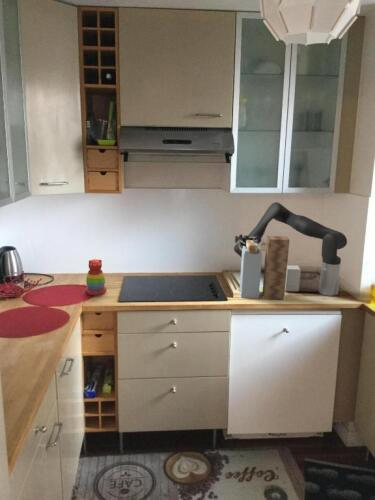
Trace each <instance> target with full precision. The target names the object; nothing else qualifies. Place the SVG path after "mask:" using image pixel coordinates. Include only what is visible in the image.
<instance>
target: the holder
mask: <svg viewBox="0 0 375 500" xmlns="http://www.w3.org/2000/svg"><path fill="white" fill-rule="evenodd" d="M262 260H263V253H262V250H261V248H260V246H258V247H257V254H248V252H247V249H246V247H245V246H243V249H242V258H241V261H240V262H241V264H240V275H239V276H240V277H239V293H240V292H241V294H240V297H241V298H243V299H244V298H245V299H259V298H260V287H261V286H260V285H261V275H262V274H261V273H262V263H263V262H262Z"/></svg>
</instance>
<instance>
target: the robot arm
mask: <svg viewBox="0 0 375 500" xmlns="http://www.w3.org/2000/svg"><path fill="white" fill-rule="evenodd" d="M272 220H275V221H277V222H279V223H283V224H286V225H288V226H289V227H291V228H292V229H293V230H295V231H296V232H298V233H300V234H302V235H305V236H306V237H310V238H314V239H320V240H322V241H321V242H322V243H321V257H322V258H321V260H322V261H321V269H320V275H319V276H320V277H319V287H318V293H319V294H320V295H324V296H329V297H331V296H332V297H333V296H337V295H339V289H340V288H339V287H340V280H341V278H340V272H341V271H340V269H341V265H342V264H341V262H342V261H341V260H342V258H341V257H340V256H338V250H341V249H344V248H345V247H346V246H347V244H348V239H347V236H346V235H345V234H344V233H343V232H340V231H338V230H335V229H332V228H329V227H327V226H325V225H323V224H321V223H319V222H317V221H315V220H313V219H311V218H310V217H307V216H306V215H301V214H295V213H294V212H292V211H290V210H289V209H288V208H286V207H285V206H284V205H283V204H281V203H280V202H277V201H275V202H272V203H271V204H270V205H269V207H267V209H266V211H265V212H264V214H263V215H262V216H261V218H260V220H259V221H258V223H257V224H256V226H255V227H253V229H252V230H251V232H250V233H249V234H248V235H243V233H242V234H241V233H240V235H235V237H234V243H235V244H234V247H233V251H234V252H235V254H236V255H238V256H239V257H240V258H241V259H242V249H243V246H245V247H246V241H247V240H253V242H254V243H257V245H258V244H260V243H261V242H262V238H263V236H264V235H265V233H266V229H267V227H268V225H269V223H270V222H271V221H272ZM246 249H247V247H246Z"/></svg>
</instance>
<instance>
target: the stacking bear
mask: <svg viewBox="0 0 375 500" xmlns="http://www.w3.org/2000/svg"><path fill="white" fill-rule="evenodd" d="M102 261H103V260H101V259H98V258H95V259H89V261H88V269H89V270H88V271H87V274H86V278H85V279H86V281H85V282H86V287H85V289H84V290H85V292H86V294H87V295H89V296H99V295H103V294H105V293H106V292H107V287H106V286H105V284H106V278H105V274H104V271H103V270H102V267H103V265H102V263H103V262H102Z"/></svg>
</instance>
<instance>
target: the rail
mask: <svg viewBox="0 0 375 500" xmlns="http://www.w3.org/2000/svg"><path fill="white" fill-rule="evenodd" d="M246 247H247V252H248V254H257V247H258V244H257V243H254V242H253V240H247V241H246Z"/></svg>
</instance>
